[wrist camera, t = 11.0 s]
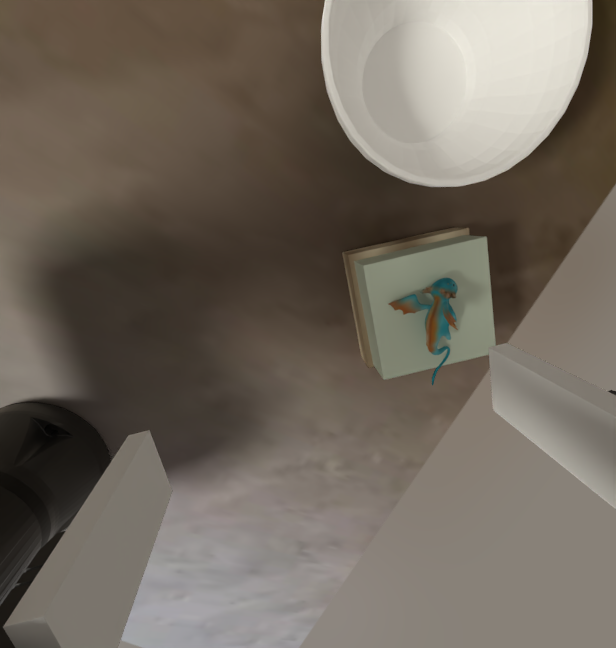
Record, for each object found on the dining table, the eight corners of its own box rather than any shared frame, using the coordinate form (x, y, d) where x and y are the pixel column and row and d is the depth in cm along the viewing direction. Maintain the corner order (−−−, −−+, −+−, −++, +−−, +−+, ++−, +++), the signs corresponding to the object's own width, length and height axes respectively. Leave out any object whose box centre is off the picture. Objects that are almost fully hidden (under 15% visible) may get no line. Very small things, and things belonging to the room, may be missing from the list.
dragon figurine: (505, 333, 33) (485, 274, 28) (465, 399, 31) (436, 350, 26) (441, 316, 38) (414, 263, 33) (404, 373, 36) (369, 327, 31)
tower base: (360, 354, 42) (368, 368, 38) (341, 251, 39) (348, 255, 35) (460, 331, 42) (478, 342, 38) (450, 227, 39) (469, 227, 35)
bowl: (435, -97, 31) (502, -231, 22) (547, 102, 36) (639, 61, 27) (266, 70, 33) (261, 12, 24) (392, 236, 38) (429, 240, 29)
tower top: (373, 364, 38) (383, 379, 34) (353, 261, 35) (363, 265, 31) (474, 339, 38) (496, 352, 35) (463, 235, 35) (486, 236, 31)
